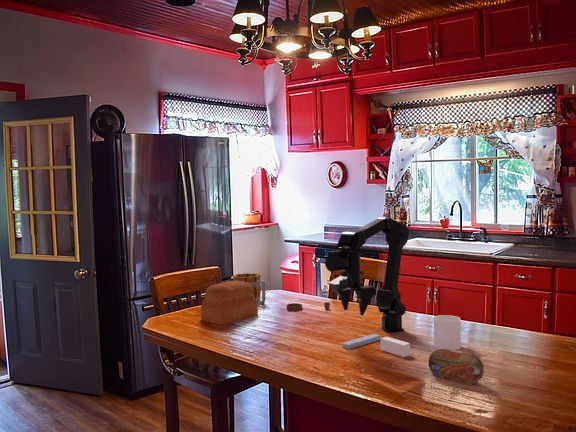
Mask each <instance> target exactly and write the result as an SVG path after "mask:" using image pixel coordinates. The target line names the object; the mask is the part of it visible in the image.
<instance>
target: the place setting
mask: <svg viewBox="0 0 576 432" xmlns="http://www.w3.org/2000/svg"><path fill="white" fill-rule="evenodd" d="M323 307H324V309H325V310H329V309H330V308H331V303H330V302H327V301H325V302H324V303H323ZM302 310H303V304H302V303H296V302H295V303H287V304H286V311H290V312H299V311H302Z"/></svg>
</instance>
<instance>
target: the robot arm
mask: <svg viewBox="0 0 576 432" xmlns="http://www.w3.org/2000/svg"><path fill="white" fill-rule="evenodd" d="M380 232H382V233H383V234H384V235H385V241H386V244H387V246H388V250H387V258H386V265H385V274H384V281H383V282H384V283H383V286H382V287H381V288H378V289H377V288H376V287H375V286H373V285H364V282H363V281H362V275H363V274H364V270H362V269H361V267H362V266H361V255H364V254H365V251H364V250H363V249H362V246H364V245H365V244H366V242H367V240H368V239H370V238H371V237H373V236H375V235H377V234H379V233H380ZM409 236H410V229H409V227H408V226H407V224H403V223H402V222H399V221H397V220H395V219H393V218H392V217H390V216H379V217H377V218H376V219H375V220H373V221H371V222H369V223H367V224H365V225H363V226H361V227H358V228H355V229H350V230H349V229H348V230H347V231H346V230H345V231H343V232H342V233H341V234H340V236H339V239H338V240H337V244H336V245H335V248H334V250H331V251H330V250H329V251H328V255H327V256H326V258H325V260H324V266H325V268H326V270H327V271H329V272H331V273H333V272H337V271H341V272H340V276H337V277H336V278H334V279H333V280H331V281H329V286H330V289H331V291H332V292H334V293H335V294H337V295H338V297H339V299H340V301H341V305H342V307H343V310H344V311H348V310H349V309H348V308H349V304H350V303H349V302H350V296H351V291H353V292H355V295H356V296H355V298H356V299H357V300H358V307H359V315H360V316H364V315H365V313H366V310H367V309H368V306H369V304H370V302H371V300H372V299H373V298H374V297H375V296H376V298H375V300H376V305H377V308H378V311H379V313H382V317H381V327H380V328H381V329H382V330H384V331H386V332H388V333H392V332H401V331H405V328H403V320H402V318H403V316H404V315H406V310H407V308H406V306H405V305H404V304H403V302H402V301H401V300H402V299H401V298H402V297H401V296H402V295H401V292H400V290H399V287H398V286H399V276H400V269H401V261H402V255H403V254H402V252H403V248H404V247H405V245H406V244H407V243H408V240H409Z"/></svg>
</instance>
